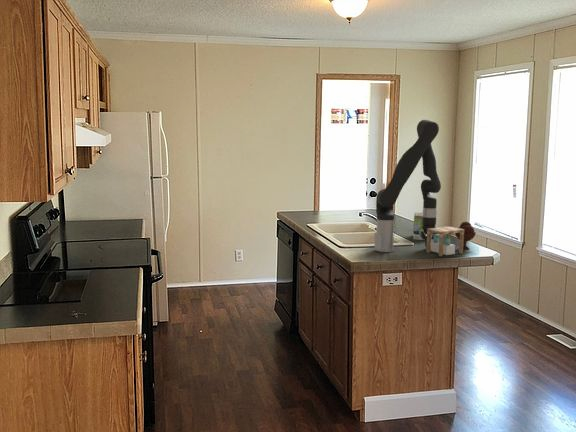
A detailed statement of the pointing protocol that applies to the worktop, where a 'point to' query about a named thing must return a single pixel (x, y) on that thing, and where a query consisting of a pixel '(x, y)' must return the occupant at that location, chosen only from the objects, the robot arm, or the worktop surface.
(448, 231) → the beige wooden stool
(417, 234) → the tea box
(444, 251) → the white and teal block
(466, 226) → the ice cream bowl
